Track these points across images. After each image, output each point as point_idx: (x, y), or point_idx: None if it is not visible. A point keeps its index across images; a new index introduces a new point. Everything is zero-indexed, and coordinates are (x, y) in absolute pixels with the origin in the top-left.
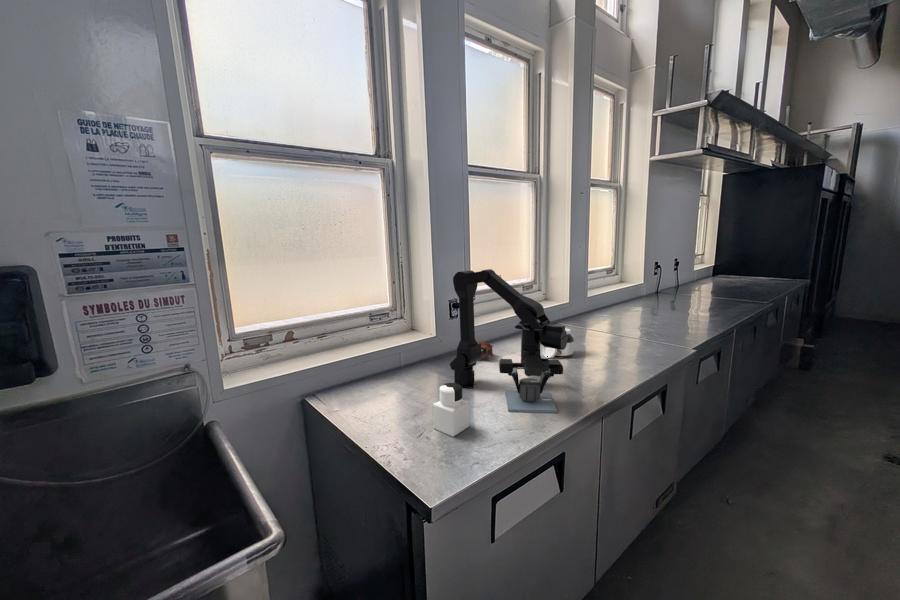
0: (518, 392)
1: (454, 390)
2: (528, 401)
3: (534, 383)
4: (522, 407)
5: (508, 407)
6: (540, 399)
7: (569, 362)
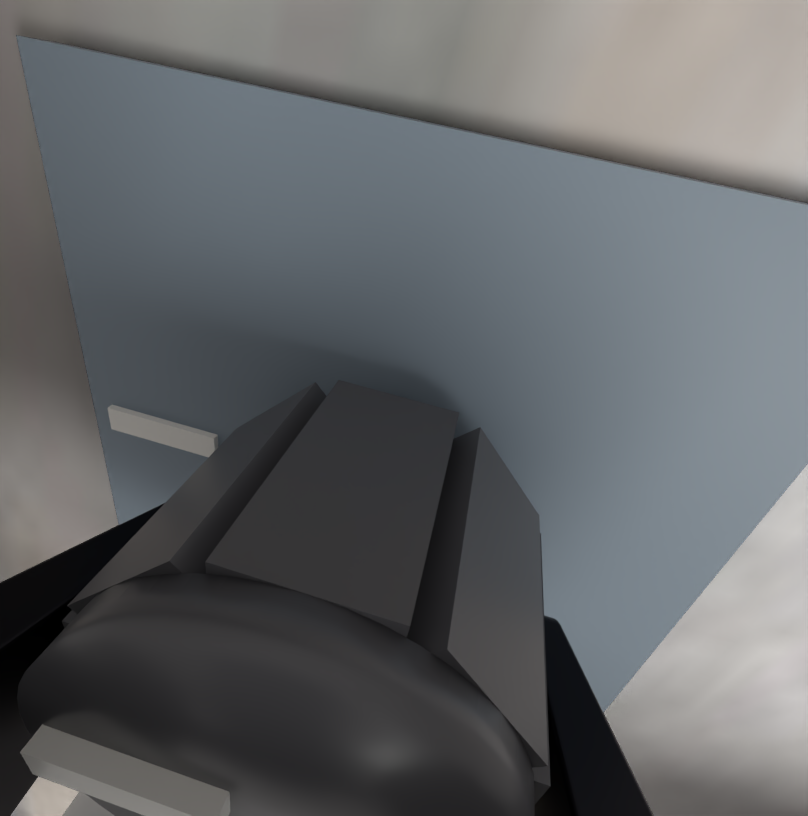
0: (553, 624)
1: None
2: None
3: (152, 729)
4: (613, 271)
5: None
6: None
7: None
